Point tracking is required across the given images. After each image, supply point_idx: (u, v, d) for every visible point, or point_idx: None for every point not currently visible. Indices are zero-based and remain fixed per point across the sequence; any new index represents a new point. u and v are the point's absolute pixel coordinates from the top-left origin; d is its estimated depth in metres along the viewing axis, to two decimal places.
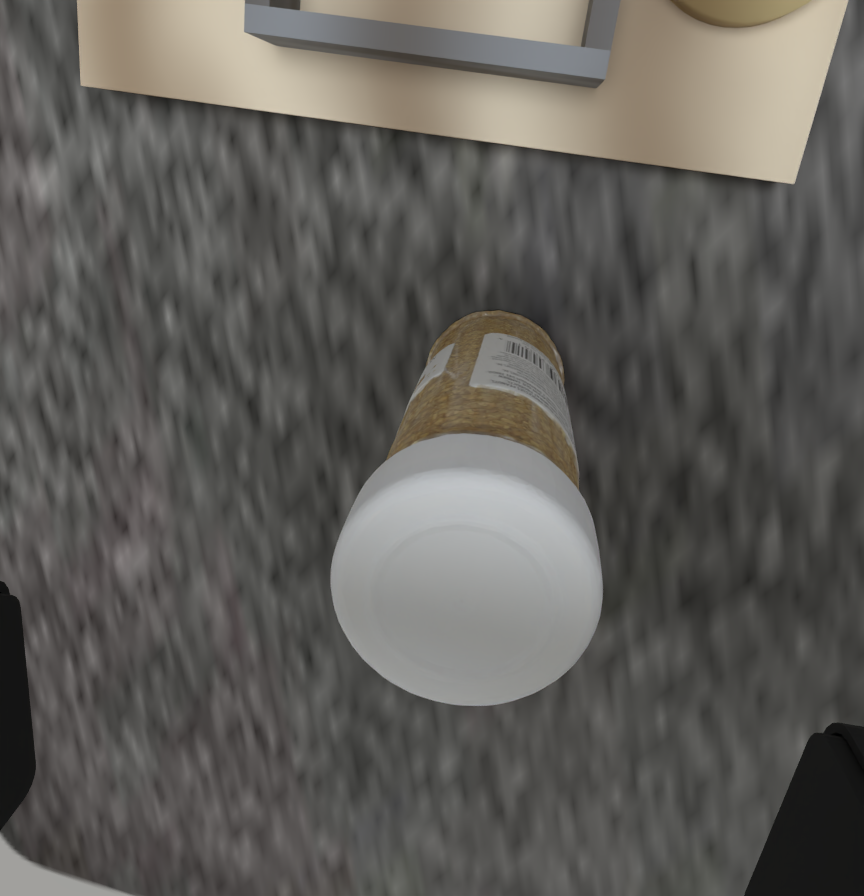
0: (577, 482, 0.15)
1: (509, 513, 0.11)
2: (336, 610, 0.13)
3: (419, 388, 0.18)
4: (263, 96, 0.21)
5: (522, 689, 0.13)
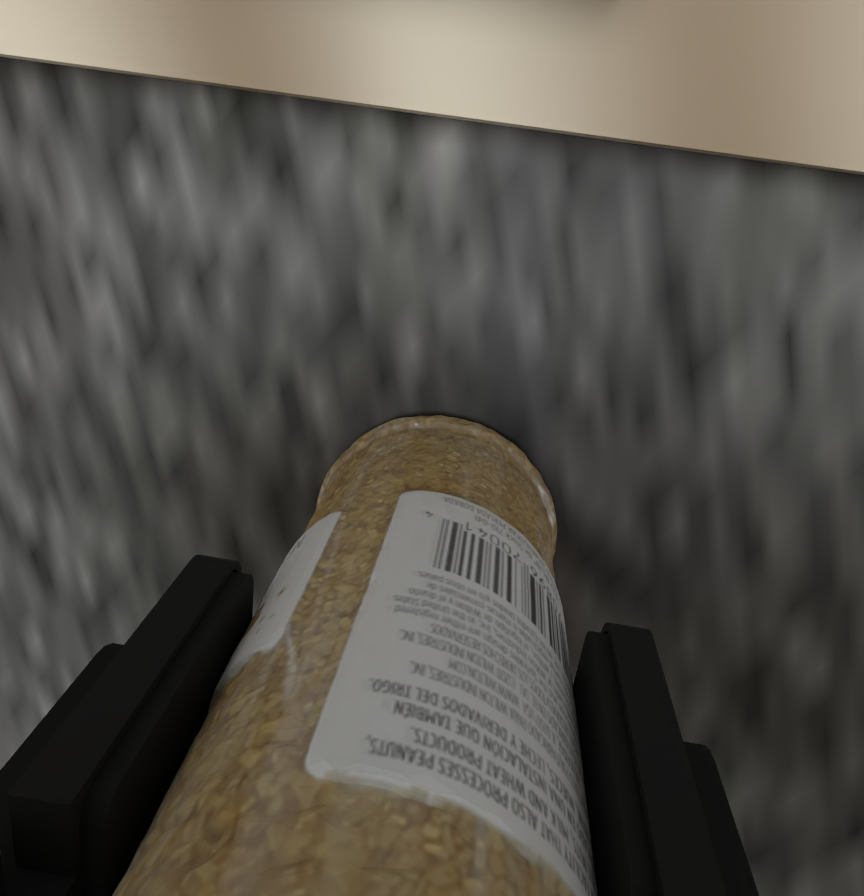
0: None
1: None
2: None
3: (234, 663, 0.08)
4: None
5: None
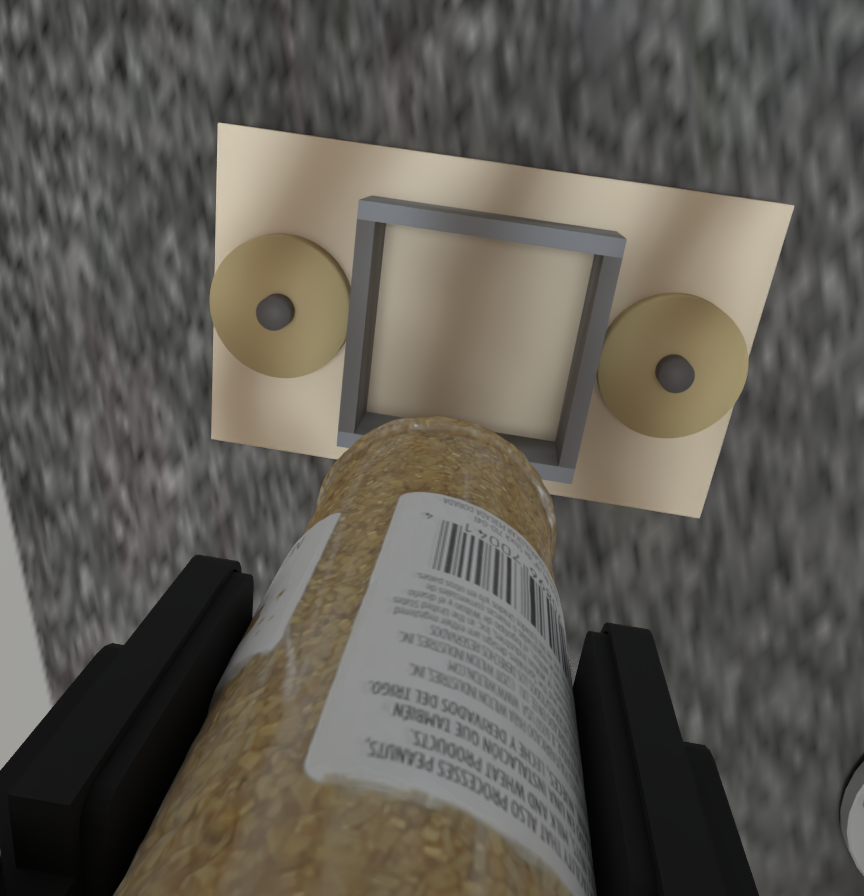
0: None
1: None
2: None
3: (233, 665, 0.08)
4: (339, 451, 0.30)
5: None
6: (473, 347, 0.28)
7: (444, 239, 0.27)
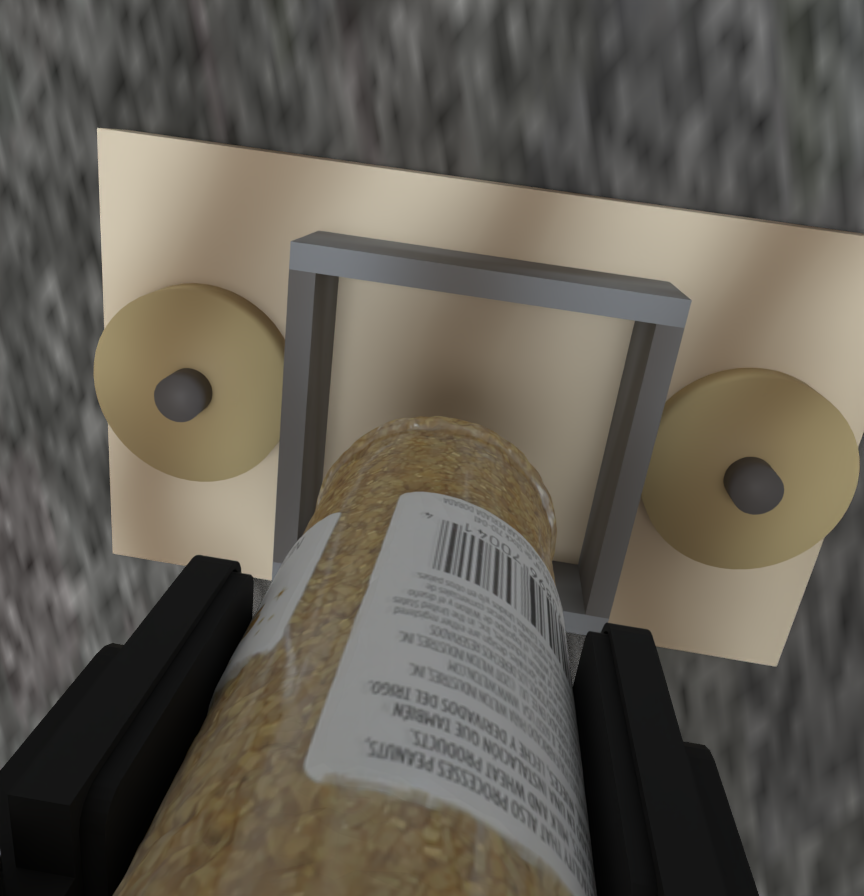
0: None
1: None
2: None
3: (233, 665, 0.08)
4: None
5: None
6: None
7: (422, 292, 0.19)
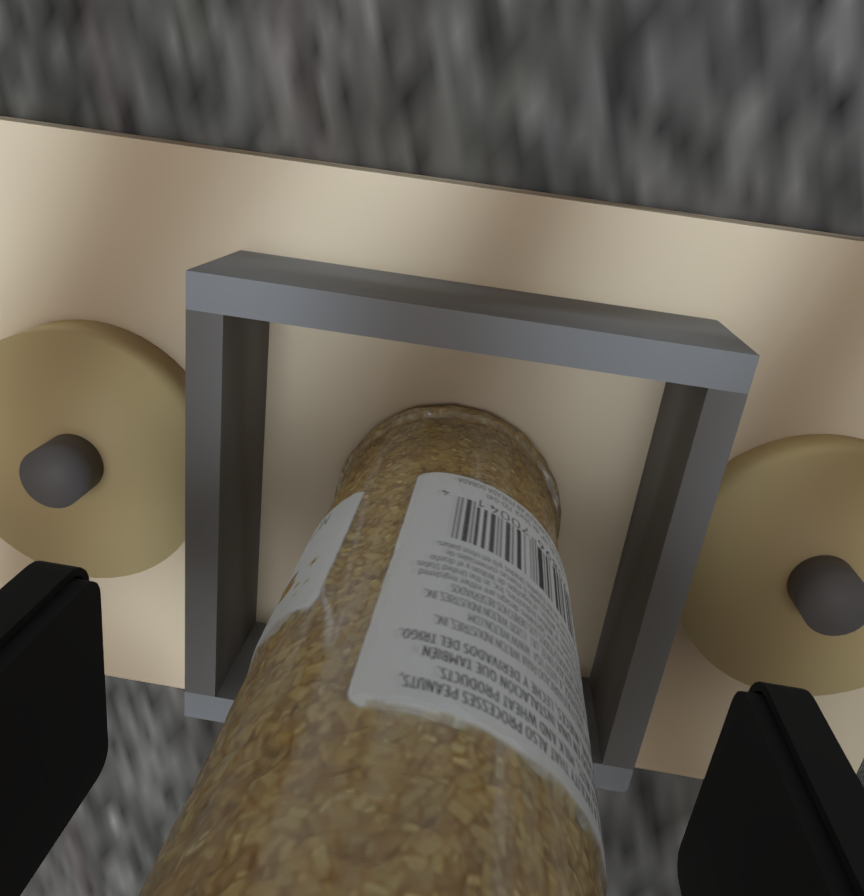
0: None
1: None
2: None
3: (274, 623, 0.09)
4: None
5: None
6: None
7: None
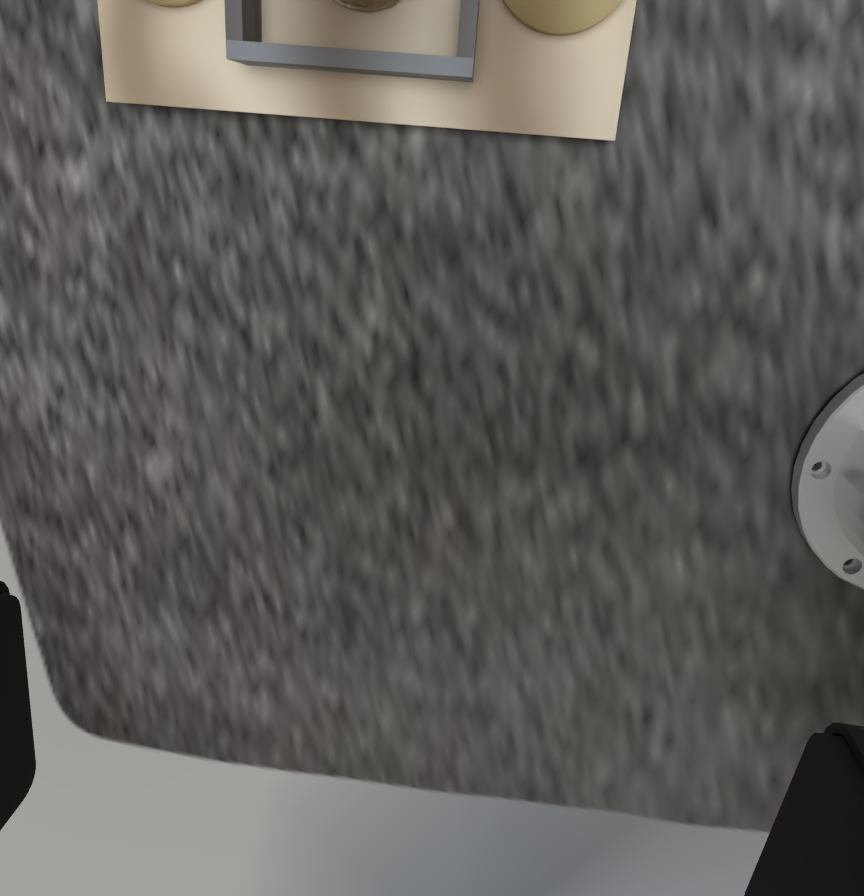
0: None
1: None
2: None
3: None
4: (240, 101, 0.29)
5: None
6: None
7: None
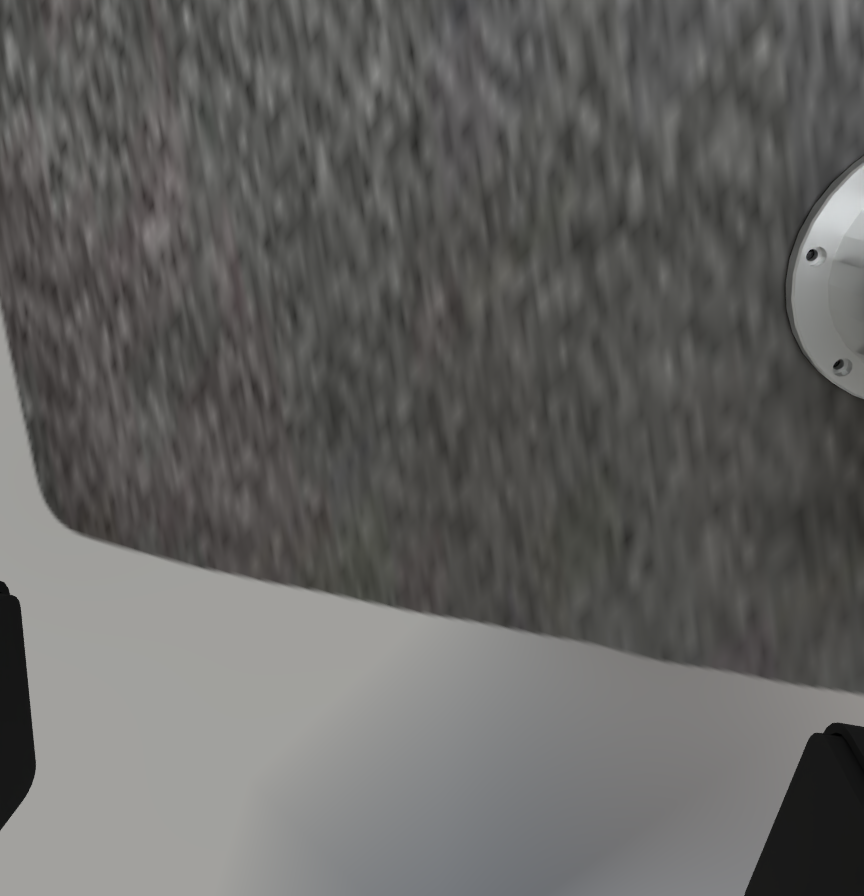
0: None
1: None
2: None
3: None
4: None
5: None
6: None
7: None
